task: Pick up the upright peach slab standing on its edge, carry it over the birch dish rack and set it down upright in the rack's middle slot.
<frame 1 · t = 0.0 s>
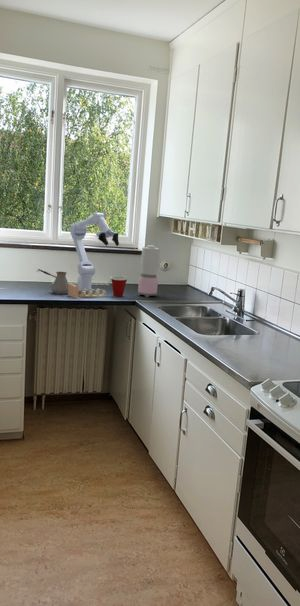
hand: (112, 244, 303), 32 cm above the countertop, tool tilted 50°, fingers open, 7 cm apart
coffee pot: (52, 293, 308), on the countertop
plastic cup: (117, 296, 318), on the countertop
upright peach slab: (72, 296, 303), on the countertop
dish rack: (90, 295, 311), on the countertop
blender: (148, 295, 329), on the countertop
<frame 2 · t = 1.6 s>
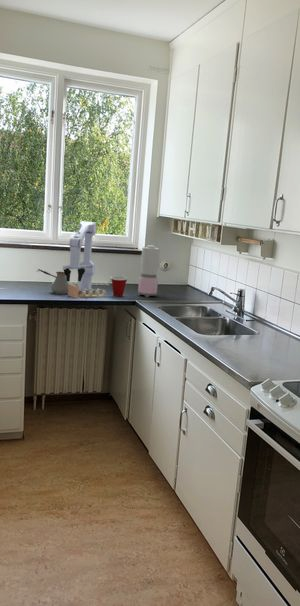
hand: (73, 281, 302), 9 cm above the countertop, tool pointing down, fingers open, 7 cm apart
nothing on the countertop moved.
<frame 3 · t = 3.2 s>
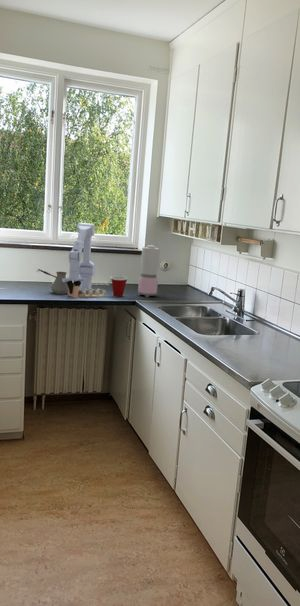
hand: (73, 293, 303), 2 cm above the countertop, tool pointing down, fingers closed on upright peach slab, 2 cm apart
upright peach slab: (72, 296, 303), on the countertop, touching gripper
everything else where it was.
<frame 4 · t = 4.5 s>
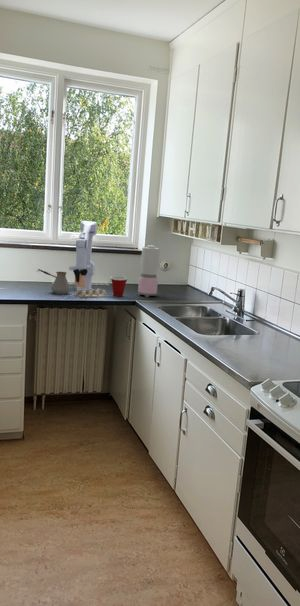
hand: (79, 281, 304), 9 cm above the countertop, tool pointing down, fingers closed on upright peach slab, 2 cm apart
upright peach slab: (79, 286, 305), point 6 cm above the countertop, touching gripper
everything else where it was.
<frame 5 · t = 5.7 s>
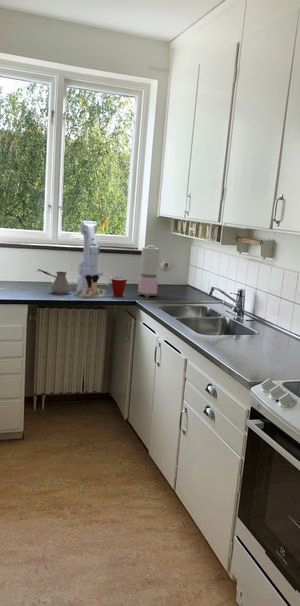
hand: (91, 287, 310), 5 cm above the countertop, tool pointing down, fingers closed on upright peach slab, 2 cm apart
upright peach slab: (91, 292, 311), point 2 cm above the countertop, touching gripper
everything else where it was.
when the fingers open (4 cm above the countertop, at t = 6.1 s): upright peach slab stays where it is, resting on dish rack.
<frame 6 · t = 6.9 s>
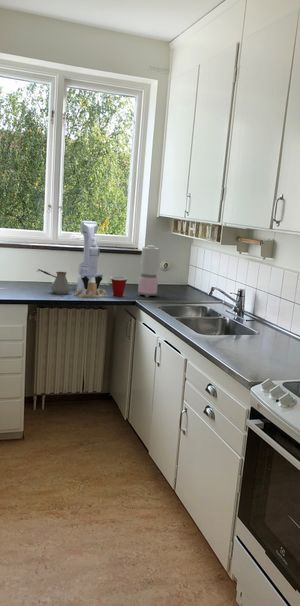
hand: (91, 288, 310), 4 cm above the countertop, tool pointing down, fingers open, 7 cm apart
upright peach slab: (90, 294, 311), point 1 cm above the countertop, touching dish rack
everything else where it was.
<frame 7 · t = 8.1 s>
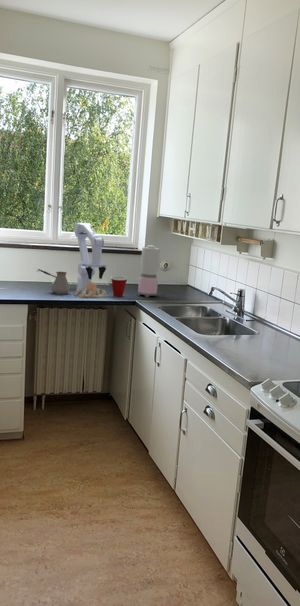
hand: (95, 278, 317), 9 cm above the countertop, tool pointing down, fingers open, 7 cm apart
nothing on the countertop moved.
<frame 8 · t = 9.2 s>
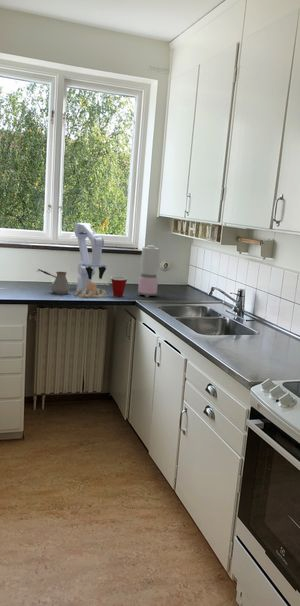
hand: (95, 278, 317), 9 cm above the countertop, tool pointing down, fingers open, 7 cm apart
nothing on the countertop moved.
at the end: upright peach slab 0.1 cm off-centre on the dish rack, point 1.0 cm above the dish rack's base; upright peach slab tilted 0°; the gripper is holding nothing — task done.
